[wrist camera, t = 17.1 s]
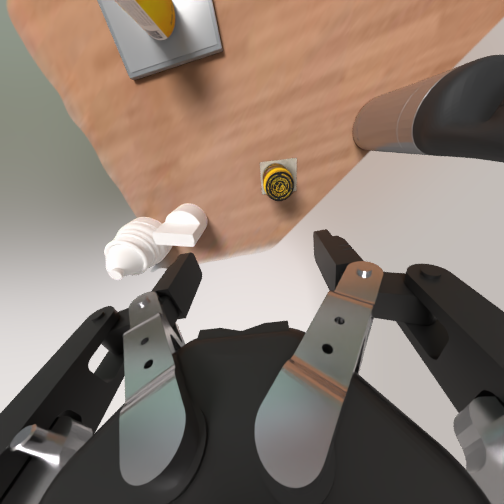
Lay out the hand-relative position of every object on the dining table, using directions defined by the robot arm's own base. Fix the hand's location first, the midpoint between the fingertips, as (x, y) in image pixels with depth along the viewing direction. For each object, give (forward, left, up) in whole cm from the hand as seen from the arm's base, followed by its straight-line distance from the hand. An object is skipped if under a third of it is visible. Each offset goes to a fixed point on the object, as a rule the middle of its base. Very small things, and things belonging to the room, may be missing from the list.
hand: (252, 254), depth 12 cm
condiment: (-5, +2, -36) cm, 37 cm away
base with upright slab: (+20, +8, -36) cm, 42 cm away
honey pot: (+34, +11, -36) cm, 51 cm away
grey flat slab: (+11, -27, -36) cm, 46 cm away
